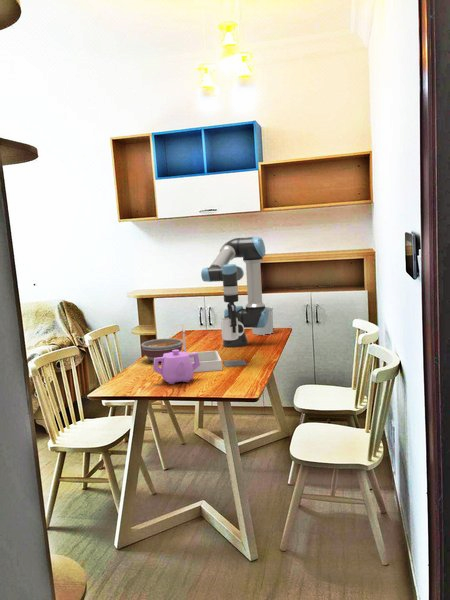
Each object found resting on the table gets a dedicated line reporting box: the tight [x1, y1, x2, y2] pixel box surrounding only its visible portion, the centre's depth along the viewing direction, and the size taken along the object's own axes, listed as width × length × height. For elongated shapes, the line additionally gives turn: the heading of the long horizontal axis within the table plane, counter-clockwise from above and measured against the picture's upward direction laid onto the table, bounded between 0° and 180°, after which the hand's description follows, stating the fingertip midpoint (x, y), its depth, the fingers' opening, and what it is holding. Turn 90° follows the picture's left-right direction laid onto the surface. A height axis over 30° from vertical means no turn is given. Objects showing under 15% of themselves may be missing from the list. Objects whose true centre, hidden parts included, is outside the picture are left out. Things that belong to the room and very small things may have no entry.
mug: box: [220, 317, 245, 340], centre depth 294 cm, size 9×12×11 cm
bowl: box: [140, 337, 184, 363], centre depth 316 cm, size 23×23×10 cm
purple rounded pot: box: [152, 350, 201, 385], centre depth 269 cm, size 19×18×15 cm
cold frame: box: [181, 323, 223, 373], centre depth 295 cm, size 18×24×21 cm
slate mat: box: [222, 359, 247, 368], centre depth 297 cm, size 11×11×1 cm
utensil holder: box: [251, 305, 274, 336], centre depth 376 cm, size 15×15×18 cm
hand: (233, 337), depth 296 cm, fingers closed on mug, 9 cm apart
